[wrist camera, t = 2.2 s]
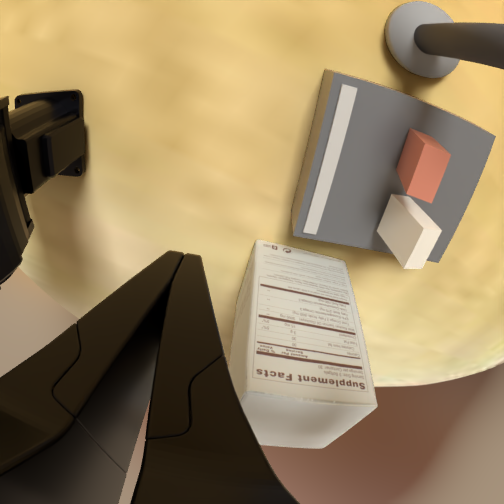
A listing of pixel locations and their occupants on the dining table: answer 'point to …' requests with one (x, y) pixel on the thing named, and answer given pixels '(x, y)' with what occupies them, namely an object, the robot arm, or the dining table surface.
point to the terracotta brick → (422, 165)
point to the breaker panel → (379, 163)
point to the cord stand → (440, 40)
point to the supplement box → (299, 348)
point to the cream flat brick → (408, 231)
